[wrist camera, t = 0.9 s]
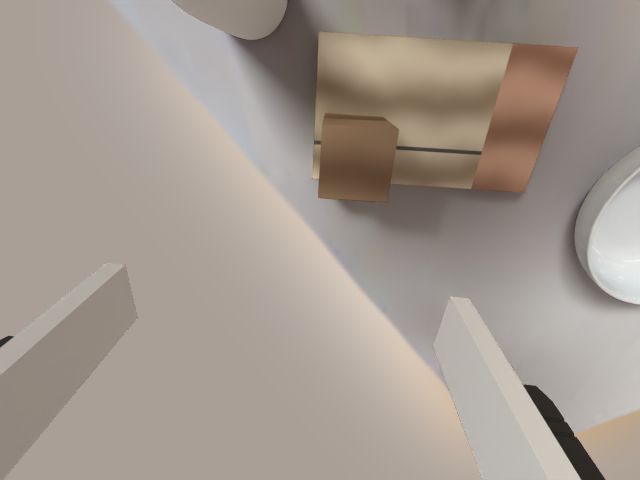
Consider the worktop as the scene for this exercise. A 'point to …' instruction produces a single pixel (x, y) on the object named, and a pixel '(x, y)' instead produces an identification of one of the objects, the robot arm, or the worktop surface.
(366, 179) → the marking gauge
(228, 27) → the milk bottle
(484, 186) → the maple board
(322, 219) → the worktop surface
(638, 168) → the serving bowl
